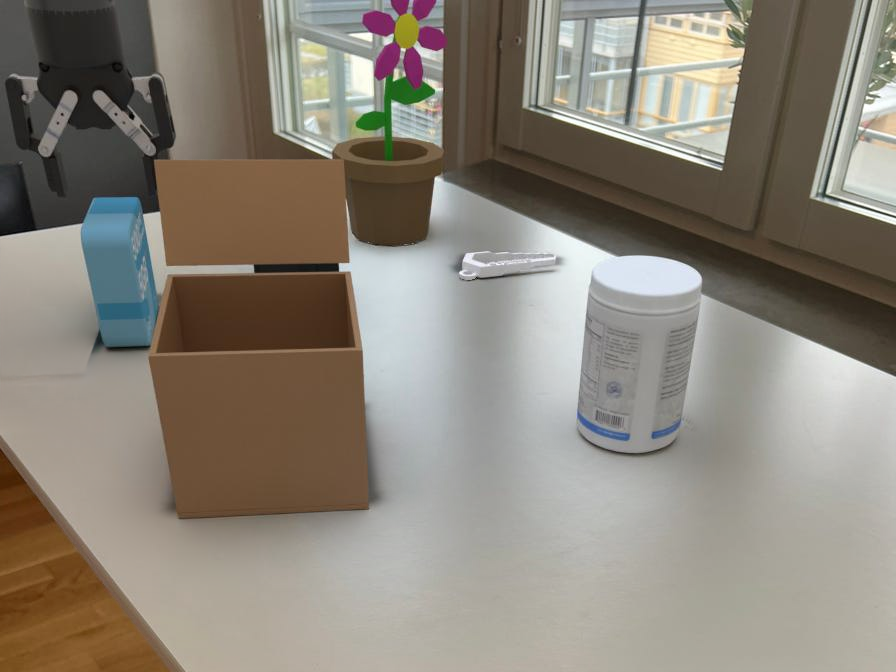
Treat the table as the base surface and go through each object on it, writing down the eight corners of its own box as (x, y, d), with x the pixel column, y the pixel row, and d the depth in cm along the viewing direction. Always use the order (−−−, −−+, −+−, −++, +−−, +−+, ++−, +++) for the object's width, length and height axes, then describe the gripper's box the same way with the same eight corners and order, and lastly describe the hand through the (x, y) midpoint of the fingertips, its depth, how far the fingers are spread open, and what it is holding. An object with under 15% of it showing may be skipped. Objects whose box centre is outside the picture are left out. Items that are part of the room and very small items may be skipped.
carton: (178, 518, 78) (147, 356, 69) (191, 423, 90) (167, 274, 81) (369, 509, 80) (362, 349, 72) (357, 416, 92) (350, 271, 84)
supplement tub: (657, 405, 96) (683, 251, 87) (693, 453, 89) (725, 291, 80) (561, 411, 95) (577, 255, 85) (590, 461, 88) (610, 296, 78)
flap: (153, 159, 78) (154, 160, 79) (166, 265, 81) (167, 266, 81) (343, 159, 80) (343, 160, 81) (349, 262, 83) (349, 263, 83)
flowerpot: (379, 259, 125) (371, -26, 106) (315, 228, 133) (297, -42, 114) (465, 237, 132) (472, -32, 113) (400, 210, 140) (396, -46, 121)
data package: (150, 351, 101) (128, 230, 94) (104, 352, 101) (78, 231, 93) (159, 306, 111) (139, 192, 103) (117, 307, 110) (94, 193, 102)
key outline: (543, 257, 127) (544, 244, 126) (559, 271, 124) (560, 257, 123) (448, 267, 124) (448, 253, 122) (462, 281, 120) (463, 267, 119)
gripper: (157, -6, 90) (186, 183, 101) (-7, -8, 88) (40, 185, 99) (149, 7, 85) (180, 205, 95) (-27, 6, 83) (25, 208, 93)
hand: (109, 195), depth 97 cm, fingers open, 8 cm apart
